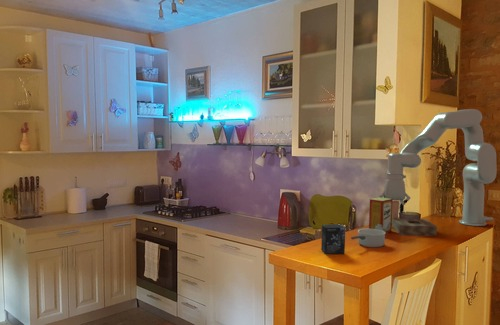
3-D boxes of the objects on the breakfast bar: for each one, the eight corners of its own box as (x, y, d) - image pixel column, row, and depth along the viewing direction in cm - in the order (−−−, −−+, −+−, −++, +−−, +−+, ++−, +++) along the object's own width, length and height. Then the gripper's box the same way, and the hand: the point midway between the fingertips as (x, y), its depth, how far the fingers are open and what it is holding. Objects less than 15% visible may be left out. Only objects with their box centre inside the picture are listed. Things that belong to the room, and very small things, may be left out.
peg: (396, 224, 216) (397, 201, 215) (398, 225, 212) (399, 202, 211) (388, 223, 216) (389, 200, 215) (390, 225, 212) (391, 202, 211)
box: (325, 254, 160) (326, 227, 160) (321, 250, 166) (321, 224, 165) (345, 254, 162) (345, 227, 161) (340, 250, 167) (340, 224, 166)
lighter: (374, 235, 191) (375, 218, 191) (376, 234, 192) (377, 217, 192) (388, 238, 186) (389, 220, 185) (390, 237, 187) (391, 220, 187)
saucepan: (339, 248, 170) (340, 234, 170) (366, 239, 184) (366, 227, 183) (364, 254, 162) (365, 240, 161) (390, 245, 175) (391, 232, 175)
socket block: (425, 228, 207) (425, 219, 206) (436, 236, 191) (437, 226, 190) (392, 227, 208) (392, 218, 208) (400, 235, 192) (401, 225, 192)
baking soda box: (378, 228, 205) (379, 196, 203) (391, 231, 200) (392, 198, 199) (368, 231, 198) (369, 198, 197) (381, 234, 193) (382, 200, 192)
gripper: (410, 177, 215) (409, 211, 216) (376, 176, 217) (375, 210, 218) (414, 178, 208) (413, 214, 209) (379, 178, 209) (378, 213, 211)
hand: (394, 212), depth 213 cm, fingers open, 6 cm apart
